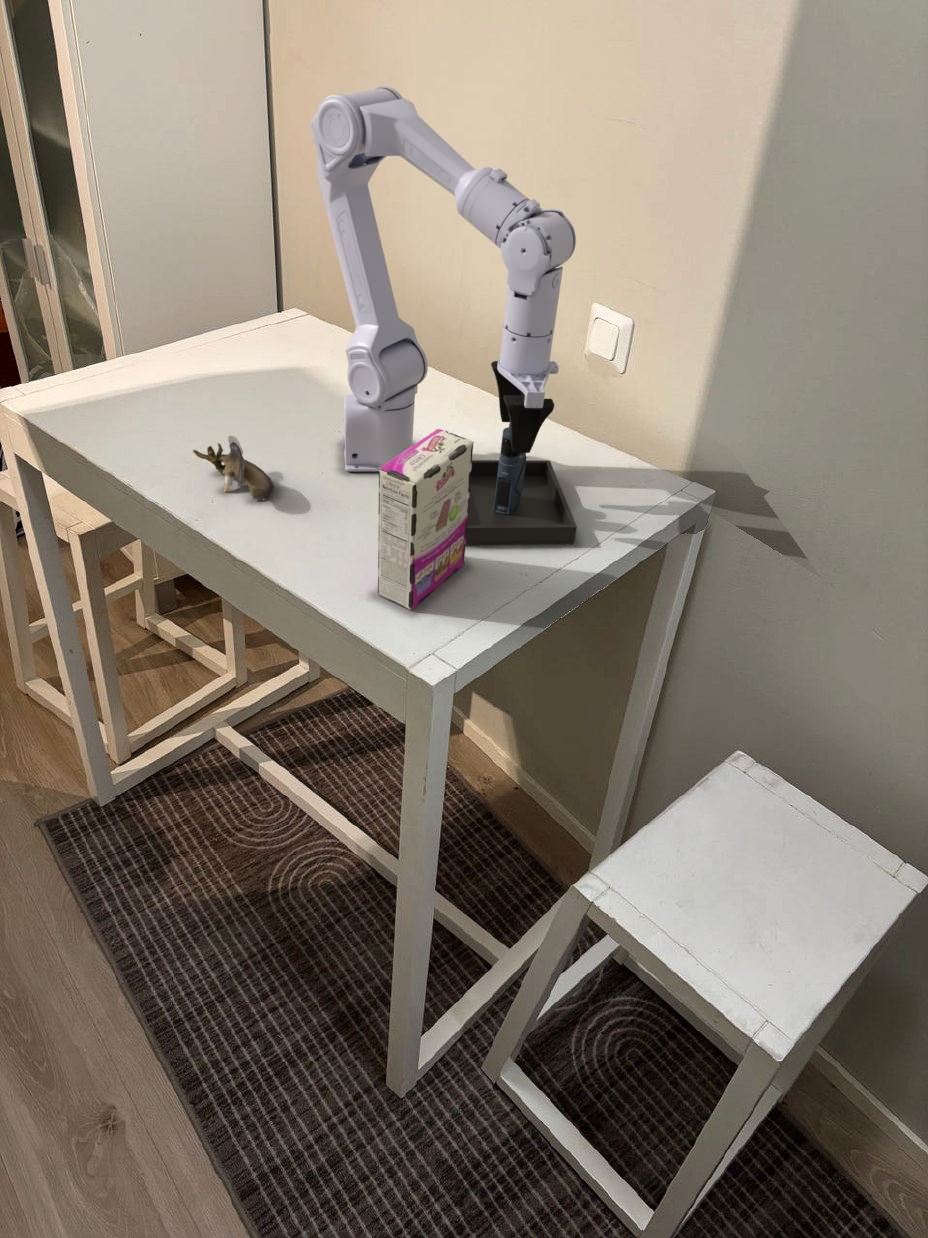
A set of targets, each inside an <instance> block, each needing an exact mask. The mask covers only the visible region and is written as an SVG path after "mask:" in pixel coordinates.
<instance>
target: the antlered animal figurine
mask: <svg viewBox="0 0 928 1238" xmlns="http://www.w3.org/2000/svg"><path fill="white" fill-rule="evenodd" d="M227 439H228V440H227V441H228V444H229V445H228V446H229V450H230V451H229V452H228V453H227V454H224V453H223V451H224V449H223V447H222V444H221V443H219V442H218V443H217V447H218V448H217V452H215V450H214V448H213V447H212V445H208V446H207V449H206V453H207V454H205V453H202V452H199V451H198V450H197V449H192V452H193V454H195V456H196V457H198V458H200V459H202V460H206V461H208V462H210V463H211V465H213V466H214V468H215V470H217V472H218V473H219V474H221V475H223V474H224V488H223V492H224V493H226V492H228V490H229V489H230V488H232V486H233V482H234V479H235V477H236V478H238V481H239V483H240V484H242V483H243V481H244V482H245V483H246V485H247V487H248V489H249V493H250V496H251V497H252V499H253V500H257V501H263V502H265V501H267V500H270V499H271V497H272V496H273V493H274V492H275V485H274V482H273V480H272V479H271V477H269V475H268V474H267V473H266V472H265V471H264V470H263V469H262V468H260V467H259V466H258V465H256V464H254V463H253V462H251V461H249V460H247V459H245V458H244V456H243V455H244V450H243V447H242V446H241V443H240V441H239V440H238V438H237V437H236V436H235V435H228V436H227ZM222 463H224V464H222Z"/></svg>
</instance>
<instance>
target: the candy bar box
mask: <svg viewBox="0 0 928 1238" xmlns="http://www.w3.org/2000/svg"><path fill="white" fill-rule="evenodd" d="M474 443H475V442H474V441H473V440H471V439H468V438H466V437H462V436H460V435H458V434H456V433H452V432H449V431H448V430H445V429H441V428H437V429H435V430H434V431H431V433H429V434H428V435H426V436H425V437H423V438H422V439H420V440H419V441H417V442H416V443H414V444H413V446H411V447H410V448H408V449H407V450H405V451H404V452H402V453H401V454H399V455H398V456H396V457H395V458H393V459H392V460H390V461H389V462H387V463H386V464H384V465H383V466H381V467H380V468H379V471H378V541H377V544H378V545H377V548H378V550H377V553H378V554H377V555H378V556H377V595H378V596H379V597H381V598H383V599H384V600H387V601H390V602H392V603H393V604H394V603H395V604H397V605H398V606H400V607H402V608H405V609H407V610H409V611H412V610H414V609H415V608H416V607H417V606H419V605H420V604H421V603H422V602H423V601H425V599H427V598H428V597H429V596H430V595H431V594H432V593H433V592H434V591H435V590H437V589H438V588H439V587H440V586H441V585H442V584H443V583H444V582H446V581H447V580H448V579H449V578H451V577H452V576H453V575H454V574H455V573H456V572H457V571H459V570H460V569H461V568H462V567H464V565H465V558H466V557H465V556H466V545H465V544H466V531H467V518H468V503H469V494H470V479H471V468H472V460H473V453H474Z"/></svg>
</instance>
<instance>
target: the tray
mask: <svg viewBox="0 0 928 1238" xmlns="http://www.w3.org/2000/svg"><path fill="white" fill-rule="evenodd" d="M498 467H499V459H472V468H471V479H470V494H469V503H468V518H467V531H466V544H465V546H505V545H506V546H521V545H525V546H526V545H527V546H529V545H530V546H532V545H574V544H575V539H576V536H577V535H576V533H577V529H578V526H577V524H576V522H575V519H574V517H573V514H572V512H571V510H570V507H569V504H568V501H567V499H566V497H565V495H564V493H563V490H562V487H561V485H560V482H559V479H558V477H557V475H556V472H555V469H554V467H553V465H552V462H551V460H549V459H547V460H546V459H545V460H543V459H542V460H541V459H539V460H537V459H536V460H535V459H534V460H533V459H530V460H529V459H528V460H527V459H526V465H525V473H524V480H523V487H522V495H521V496H520V501H519V503H518V504H517V506H516V507H515V509H514V510H513V511H512V513H511V514H509V515H508V514H501V513H498V512H496V511H494V502H495V493H496V483H497V475H498Z"/></svg>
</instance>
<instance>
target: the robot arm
mask: <svg viewBox="0 0 928 1238" xmlns="http://www.w3.org/2000/svg"><path fill="white" fill-rule="evenodd" d="M310 129H311V133H312V137H313V140H314V144H315V148H316V152H317V178H318V180H317V181H318V184H319V187H320V191H321V196H322V200H323V203H324V204H323V205H324V207H325V212H326V215H327V220H328V223H329V227H330V230H331V235H332V239H333V242H334V243H333V244H334V247H335V251H336V254H337V259H338V262H339V266H340V271H341V274H342V278H343V282H344V285H345V289H346V294H347V297H348V301H349V305H350V309H351V314H352V317H353V321H354V325H355V329H354V331H353V334H352V335H351V338H350V340H349V341H348V343H347V345H346V348H345V354H346V358H347V372H346V373H347V375H346V376H347V377H346V378H347V382H348V383H347V384H348V386H349V388H350V391H351V393H352V394H349V395H344V396H343V435H341V450H343V455H344V456H343V457H344V465H345V466H344V468H345V471H346V472H379V468H380V467H381V466H383V465H384V464H386V463H387V462H389V461H390V460H392V459H393V458H395V457H396V456H398V455H399V454H401V453H402V452H404V451H405V450H407V449H408V448H410V447H411V446H413V445H414V444H413V443H414V442H413V441H414V439H413V438H414V424H415V423H414V421H415V404H416V403H415V402H416V395H417V394H418V387H419V385H420V384H421V383H422V382H423V381H425V379H426V377H427V375H428V370H429V364H428V363H429V362H428V359H427V358H428V357H427V356H426V353H425V351H424V349H423V348H422V346H421V345H420V343H419V341H418V339H417V336H416V331H415V328H414V327H413V326H412V325H410V324H409V323H407V322H406V321H404V320H403V319H401V318H400V317H399V311H398V307H397V304H396V300H395V299H396V298H395V296H394V291H393V287H392V283H391V278H390V275H389V270H388V265H387V262H386V261H387V260H386V257H385V253H384V249H383V244H382V240H381V236H380V231H379V227H378V223H377V219H376V215H375V211H374V206H373V202H372V198H371V194H370V190H369V189H370V188H369V182H370V180H371V179H372V177H373V175H374V174H375V172H376V170H377V169H378V167H379V165H380V163H381V162H383V160H384V159H385V158H386V157H399V158H400V157H401V158H402V159H403V160H405V161H406V162H407V163H409V164H410V165H412V166H413V167H414V168H415V169H417V170H418V171H420V172H421V173H423V174H424V175H425V176H427V177H428V178H429V179H431V180H432V181H434V182H435V183H436V184H437V185H439V186H440V187H442V188H443V189H444V190H446V191H447V192H448V193H450V194H452V195H453V196H454V197H455V205H456V211H457V214H459V215H460V217H462V218H463V220H465V221H466V222H468V223H469V224H470V225H471V226H473V227H474V228H475V229H476V230H477V231H478V232H479V233H481V234H482V235H483V236H484V237H486V238H487V239H488V240H489V241H491V242H492V243H493V245H495V246H497V247H498V248H499V249H500V253H501V254H500V255H501V257H502V260H503V263H504V265H505V267H506V270H507V281H506V284H507V290H506V300H505V309H504V317H503V326H502V338H501V344H500V345H501V347H500V354H499V358H498V360H494V361H491V363H490V366H491V369H492V371H493V374H494V377H495V380H496V385H497V392H498V393H497V394H498V405H499V414H500V415H499V416H500V420H501V423H509V424H510V436H511V447H512V451H513V453H526V454H530V453H531V451H532V449H533V446H534V444H535V441H536V439H537V437H538V435H539V431H540V429H541V427H542V426H543V425H544V422H545V421H546V420H547V419H548V417H549V416H550V415H551V414H552V413H553V411H554V409H555V403H554V400H553V398H545V396H546V391H545V388H546V385H547V382H548V379H549V377H550V375H556V374H558V373H559V370H560V366H559V365H558V363H557V362H556V361H554V360H553V361H552V360H551V356H552V355H551V354H552V347H553V340H554V334H555V327H556V320H557V313H558V306H559V299H560V292H561V284H562V277H563V270H564V267H563V266H562V265H563V264H565V263H567V262H568V261H569V260H570V259H571V257H573V254H574V252H575V249H576V243H577V236H576V231H575V228H574V226H573V224H572V223H571V221H570V219H569V218H568V217H566V215H565V213H564V212H563V211H562V210H560V209H557V208H546V209H544V208H542V207H541V203H540V202H538V201H537V200H536V199H535V198H533V199H529V197H527V196H526V195H525V194H524V193H522V191H520V190H519V189H517V188H516V187H515V186H514V185H513V184H512V183H511V182H509V181H508V180H507V179H508V176H509V175H508V174H507V173H506V172H505V171H504V170H503V169H502V168H496V169H494V168H492V167H490V166H486V167H485V166H484V167H481V168H478V169H475V168H474V167H473V166H472V165H471V163H469V162H468V161H467V160H466V159H465V158H463V156H462V155H461V154H460V153H458V151H456V150H455V149H454V148H453V146H451V145H450V144H449V143H448V142H447V141H446V140H445V139H444V138H443V137H441V135H439V134H438V133H437V131H435V130H434V129H433V128H432V127H431V126H430V125H429V124H428V123H427V122H426V121H424V120H423V118H421V116H420V115H419V114H418V111H417V109H416V106H415V104H414V103H413V102H412V101H410V100H409V99H407V98H405V97H403V96H402V95H401V93H400V92H398V91H397V90H396V89H395V88H393V87H390V86H387V85H381V86H377V87H375V88H373V89H368V90H362V91H358V92H350V93H345V94H331V95H329V96H327V97H325V98H324V99H323V100H322V101H321V102H320V104H319V106H318V108H317V110H316V112H315V114H314V116H313V118H312V120H311V122H310Z"/></svg>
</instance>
